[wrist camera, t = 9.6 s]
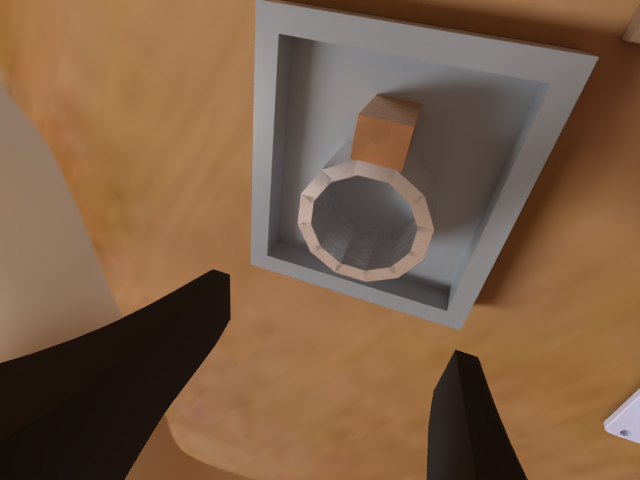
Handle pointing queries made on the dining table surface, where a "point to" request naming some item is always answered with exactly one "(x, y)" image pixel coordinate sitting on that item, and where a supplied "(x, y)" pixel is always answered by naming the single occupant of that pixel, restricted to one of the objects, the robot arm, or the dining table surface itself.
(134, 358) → the robot arm
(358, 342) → the dining table surface
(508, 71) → the tray
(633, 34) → the tan peg stand
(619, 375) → the dining table surface
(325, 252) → the ring
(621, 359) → the dining table surface
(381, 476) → the dining table surface
